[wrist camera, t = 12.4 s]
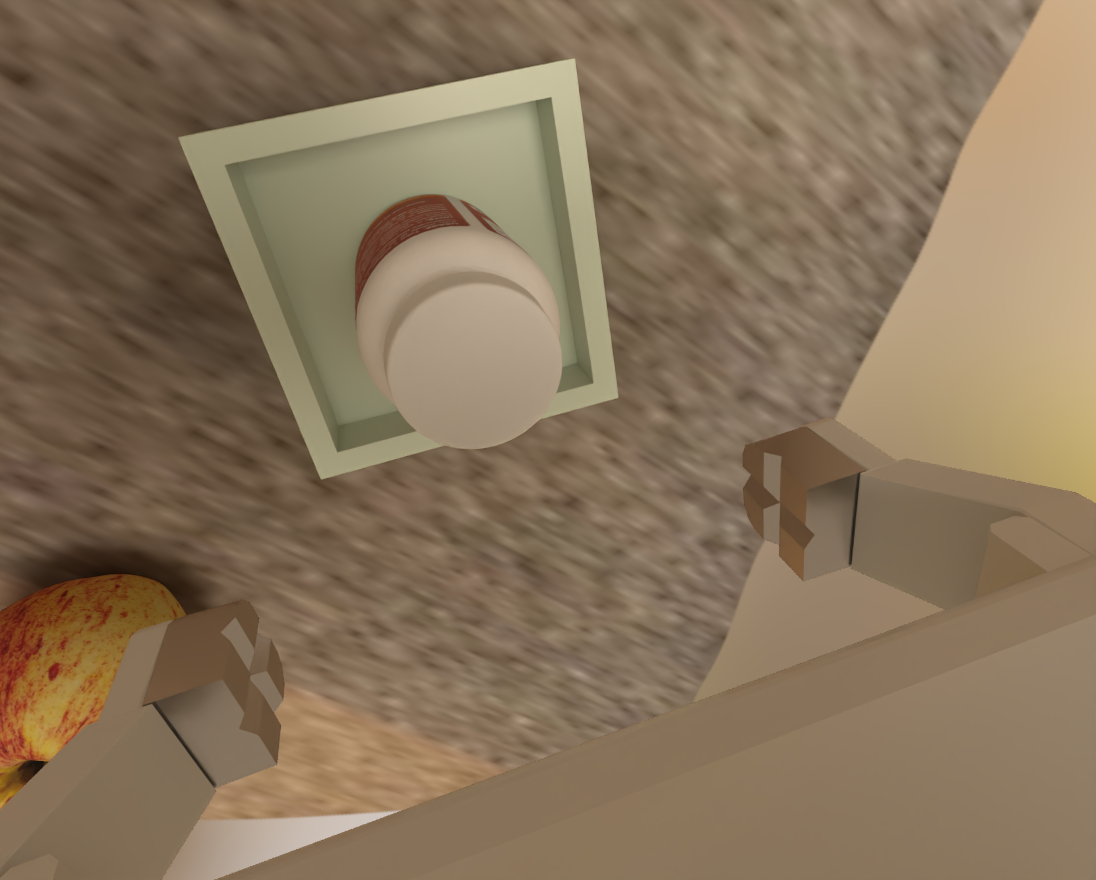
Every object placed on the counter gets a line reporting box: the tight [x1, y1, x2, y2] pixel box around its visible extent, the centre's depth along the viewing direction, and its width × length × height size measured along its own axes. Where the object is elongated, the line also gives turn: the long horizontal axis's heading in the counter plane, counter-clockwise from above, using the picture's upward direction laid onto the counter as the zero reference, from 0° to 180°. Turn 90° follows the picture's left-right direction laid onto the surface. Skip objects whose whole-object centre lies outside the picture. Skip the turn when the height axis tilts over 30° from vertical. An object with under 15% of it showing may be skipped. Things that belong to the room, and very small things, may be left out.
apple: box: [0, 574, 186, 809], centre depth 26 cm, size 9×9×10 cm
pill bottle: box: [355, 194, 562, 449], centre depth 22 cm, size 6×6×11 cm
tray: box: [178, 58, 618, 479], centre depth 26 cm, size 13×13×3 cm
